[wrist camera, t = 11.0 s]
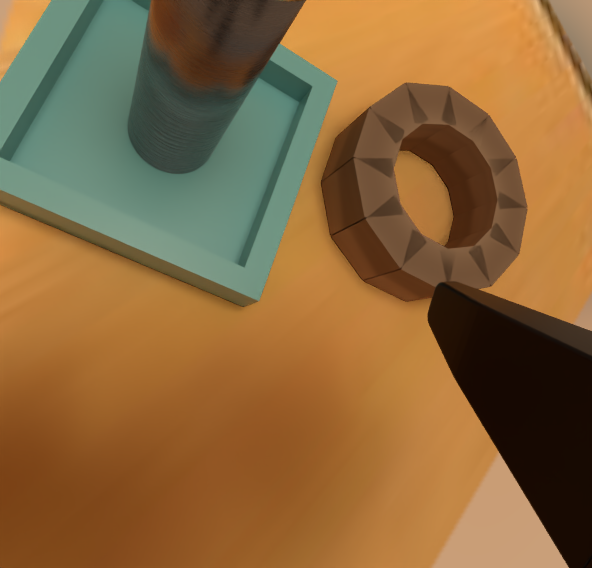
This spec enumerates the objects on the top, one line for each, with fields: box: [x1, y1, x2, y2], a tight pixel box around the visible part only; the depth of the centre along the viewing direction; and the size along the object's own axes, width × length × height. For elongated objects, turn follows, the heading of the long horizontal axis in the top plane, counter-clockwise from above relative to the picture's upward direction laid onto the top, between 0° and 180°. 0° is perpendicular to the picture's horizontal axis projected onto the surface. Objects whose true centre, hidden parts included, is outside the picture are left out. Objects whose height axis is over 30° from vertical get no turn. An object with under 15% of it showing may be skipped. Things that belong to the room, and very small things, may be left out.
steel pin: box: [128, 0, 306, 174], centre depth 14 cm, size 4×4×12 cm
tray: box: [0, 0, 337, 307], centre depth 19 cm, size 11×11×2 cm
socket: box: [321, 83, 527, 301], centre depth 23 cm, size 10×10×3 cm
